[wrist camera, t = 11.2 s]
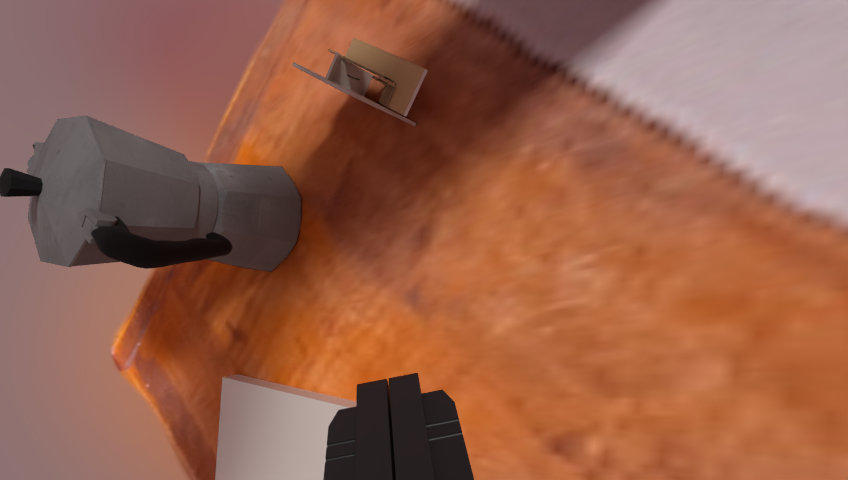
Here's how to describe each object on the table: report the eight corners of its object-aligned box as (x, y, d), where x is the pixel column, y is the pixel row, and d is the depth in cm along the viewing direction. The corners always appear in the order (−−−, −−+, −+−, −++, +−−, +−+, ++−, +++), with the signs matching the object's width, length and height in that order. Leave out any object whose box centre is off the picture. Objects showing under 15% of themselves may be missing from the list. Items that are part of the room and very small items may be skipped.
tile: (372, 403, 36) (242, 373, 44) (354, 408, 34) (222, 376, 42) (363, 580, 35) (232, 519, 43) (343, 594, 34) (211, 528, 41)
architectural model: (384, 57, 38) (311, 11, 32) (454, 88, 34) (388, 44, 28) (365, 100, 39) (290, 64, 32) (431, 134, 35) (362, 102, 29)
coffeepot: (205, 234, 47) (-54, 209, 32) (240, 139, 45) (-15, 65, 30) (309, 322, 39) (32, 345, 24) (357, 211, 38) (91, 160, 22)
